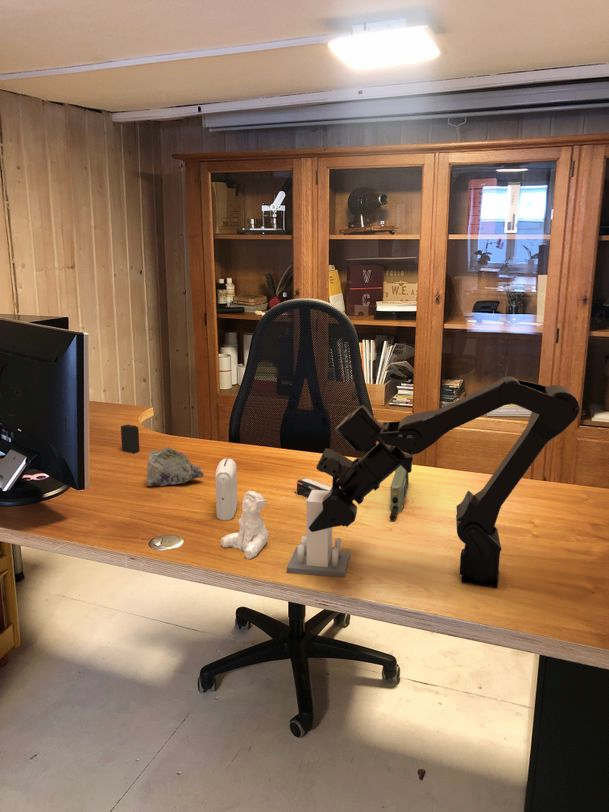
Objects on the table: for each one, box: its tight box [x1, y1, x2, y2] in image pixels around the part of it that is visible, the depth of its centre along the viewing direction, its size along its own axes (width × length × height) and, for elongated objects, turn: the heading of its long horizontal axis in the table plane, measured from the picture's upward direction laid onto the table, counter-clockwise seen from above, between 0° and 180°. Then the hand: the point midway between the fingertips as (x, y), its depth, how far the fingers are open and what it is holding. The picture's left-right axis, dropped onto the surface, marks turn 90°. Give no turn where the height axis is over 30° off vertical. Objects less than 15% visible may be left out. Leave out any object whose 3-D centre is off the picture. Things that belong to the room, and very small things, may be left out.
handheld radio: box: [389, 466, 410, 521], centre depth 160 cm, size 7×3×25 cm
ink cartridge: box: [120, 424, 141, 454], centre depth 199 cm, size 5×2×8 cm, turn 61°
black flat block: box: [296, 477, 332, 499], centre depth 163 cm, size 14×25×4 cm, turn 43°
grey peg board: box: [286, 535, 352, 579], centre depth 129 cm, size 11×9×4 cm
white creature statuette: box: [220, 490, 270, 560], centre depth 136 cm, size 10×9×12 cm
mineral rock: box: [146, 446, 205, 487], centre depth 171 cm, size 13×11×10 cm
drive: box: [305, 490, 333, 567], centre depth 128 cm, size 4×6×13 cm, turn 169°
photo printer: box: [214, 457, 238, 521], centre depth 153 cm, size 10×4×12 cm, turn 0°
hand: (314, 520), depth 127 cm, fingers open, 9 cm apart
